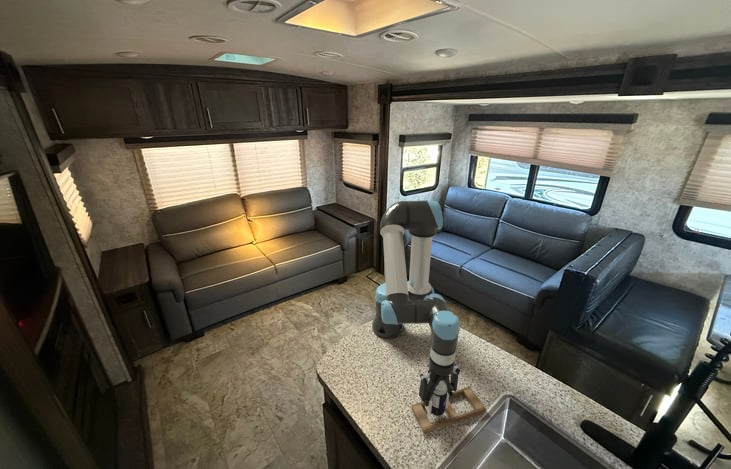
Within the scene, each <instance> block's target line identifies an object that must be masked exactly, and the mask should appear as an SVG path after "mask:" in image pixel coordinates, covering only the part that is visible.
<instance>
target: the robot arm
mask: <svg viewBox="0 0 731 469" xmlns="http://www.w3.org/2000/svg"><path fill="white" fill-rule="evenodd" d="M443 226H444V218H443V211H442V207H441V205H440V203H439V202H438V201H436V200H427V199H426V200H401V201H396V202H394V203H392V204H391V205H390V206H389V207H388V208H387V209H386V210H385V212H384V213H383V215H382V217H381V219H380V225H379V231H380V232H379V234H380V235H381V236H382V239H383V242H382V243H383V257H384V259H383V260H384V277H385V282H384V283H382V284H380V285H379V286H378V287H377V288H376V290H375V296H374V299H375V315H374V317H373V318H372V319H373V320H372V323H371V329H372V331H373V333H374V334H375V335H376V336H377V337H379V338H382V339H395V338H398V337H399V336H400V335H401V334H402V333H403V331H404V325H408V324H411V325H413V324H414V325H416V324H417V325H418V324H420V325H421V324H422V325H423V324H424V325H425V324H428V327H429V328H430V331H431V340H430V349H429V362H428V366H429V367H428V368H429V369H428V370H427V373H426V374H424V373H420V374H419V378H420V385H419V390H418V395H419V398H420V399H421V402H423V401H424V404H425V407H424V408H425V410H426V412H427V413H428V415H432V413H431V409H432V399H431V397H432V395H433V392H434V390H435V388H436V386H438V384H439V382H440V381H444V382H445V384H446V385H447V388H448V391H447V399H446V406H445V409H447V407H448V401H449V400H450V399H451V398H450V397H451V396H453V392H454V391H457V390H458V384H459V375H460V373H461V368H459V366H458V365H457V364H456V363H455V360H456V355H457V354H456V353H457V345H458V340H459V336H460V335H459V334H460V331H461V330H460V329H461V328H460V322H461V321H460V318H459V317H458V316H457V315H456V314H454V312H452V311H450V309H449V306H448V304H447V302H446V300H445V299H444V297H443V296H442V295H440V294H439V293H435V289H434V288H433V286H432V285H431V283H430V282H429V281H430V280H429V278H430V271H431V270H430V267H431V258H432V257H431V256H432V248H433V246H432V245H433V238H434V237H436V236H437V234H438V233H437V232H438V231H440V230H441V229H443ZM406 231H408V232H407V233H408V234H409V236H411V244H410V260H409V261H410V262H409V275H407V264H406V255H405V245H404V236H403V235H404V234H405V232H406ZM408 276H409V277H408ZM407 277H408V278H409V280H408V278H407Z"/></svg>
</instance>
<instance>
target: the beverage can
mask: <svg viewBox="0 0 731 469" xmlns="http://www.w3.org/2000/svg"><path fill="white" fill-rule="evenodd" d="M447 391H448V388H447V385H446V384H445V382H444V381H440V382H439V384H438V386H436V388H435V390H434V392H433V395H432V397H431V399H432V409H431V415H433V416H435V417H440V416H442V415H444V414H445V413H446V412H445V406H446V399H447Z"/></svg>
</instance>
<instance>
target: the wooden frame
mask: <svg viewBox="0 0 731 469" xmlns="http://www.w3.org/2000/svg"><path fill="white" fill-rule="evenodd" d="M452 392H453V396H451V397H450V399H452V398H455V397H459V396H462V395H463V396H464V398H465V399H466V401H467V402H468V404H469V405H470V407H471V408H472V409H473V410H471V411H468V412H465V413H461V414H460V415H458V413H457V412H456V410H455V409H454V407H453V406H452V404H451V402H450V401H449V400H448V407H447V409H445V412H444V413H445V414H446V416H447V419H445V420H443V421H438V422H436V423H431V421H430V419H429V417H428V416H427V414H426V411H425V409H424V408H425V404H424V401H421V402H420V401H419V402H417V403H414V404H411V408H410V409H411V411H412V413H413V415H414V418H415V419H416V421H417V424H418V425H419V428H420V430H421V432H422V434H423V435H424V434H428V433H430V432H434V431H436V430H439V429H441V428H445V427H447V426H450V425H453V424H456V423H458V422H462V421H464V420H467V419H470V418H472V417H475V416H478V415H481V414H484V413H486V410H487V407H486V406H485V405H484V404H483V402H482V401H481V399H480V398H479V397H478V395H477V394H476V393H475V392H474V390H473V388H472V387H471V386H467V387H464V388H461V389H457V390H456V391H452Z"/></svg>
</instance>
